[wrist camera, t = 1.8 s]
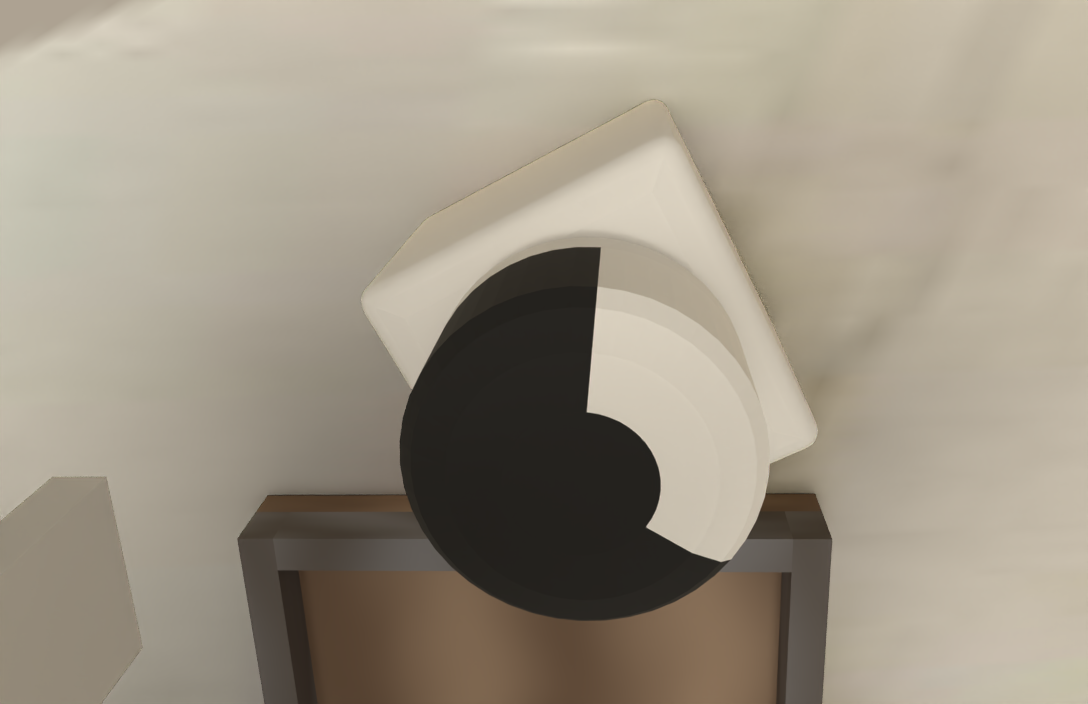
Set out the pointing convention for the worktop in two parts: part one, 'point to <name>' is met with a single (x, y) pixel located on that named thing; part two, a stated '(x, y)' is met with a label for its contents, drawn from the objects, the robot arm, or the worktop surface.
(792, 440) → the medicine bottle
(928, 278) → the worktop surface
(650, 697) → the wooden tray
